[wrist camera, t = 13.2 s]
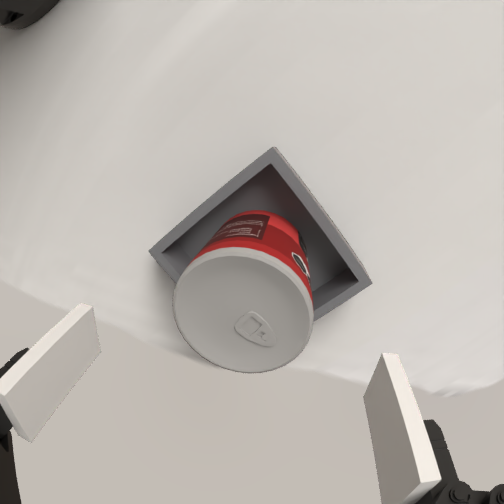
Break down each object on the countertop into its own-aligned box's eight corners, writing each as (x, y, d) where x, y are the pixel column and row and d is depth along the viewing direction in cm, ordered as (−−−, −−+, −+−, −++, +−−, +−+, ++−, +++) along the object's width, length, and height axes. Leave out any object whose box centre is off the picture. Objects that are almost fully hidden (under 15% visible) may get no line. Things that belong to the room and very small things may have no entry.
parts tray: (166, 237, 28) (148, 251, 25) (275, 146, 25) (272, 146, 21) (252, 335, 31) (246, 360, 27) (362, 264, 27) (372, 283, 23)
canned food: (282, 307, 28) (274, 391, 18) (202, 269, 28) (155, 337, 18) (324, 234, 26) (343, 294, 15) (236, 191, 26) (197, 224, 15)
